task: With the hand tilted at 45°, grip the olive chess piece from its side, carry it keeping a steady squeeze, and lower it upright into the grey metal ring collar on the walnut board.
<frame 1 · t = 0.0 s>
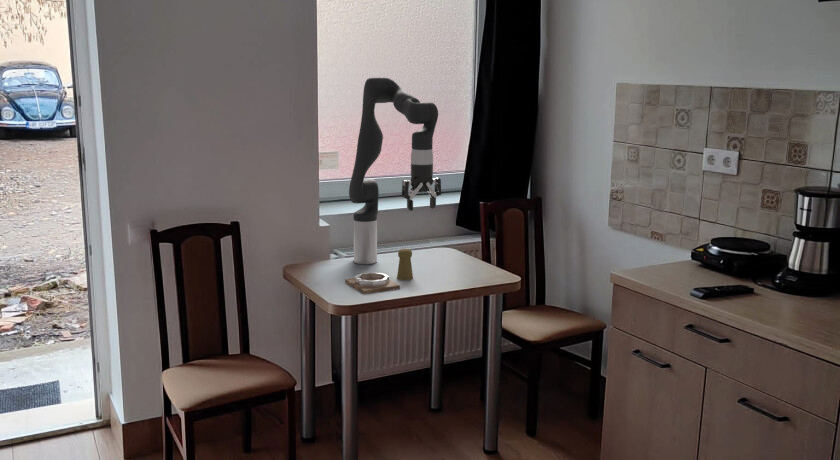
hand: (421, 209, 266), 29 cm above the table, tool pointing down, fingers open, 8 cm apart
olive chess piece: (405, 278, 288), on the table
walnut board: (372, 285, 278), on the table
metal collar: (372, 279, 278), on the walnut board, point 2 cm above the table
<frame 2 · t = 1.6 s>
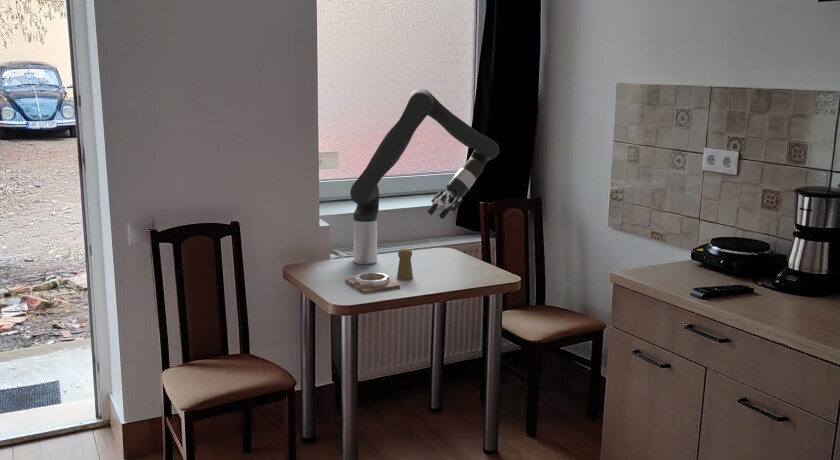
hand: (434, 215, 289), 23 cm above the table, tool tilted 45°, fingers open, 8 cm apart
nothing on the table moved.
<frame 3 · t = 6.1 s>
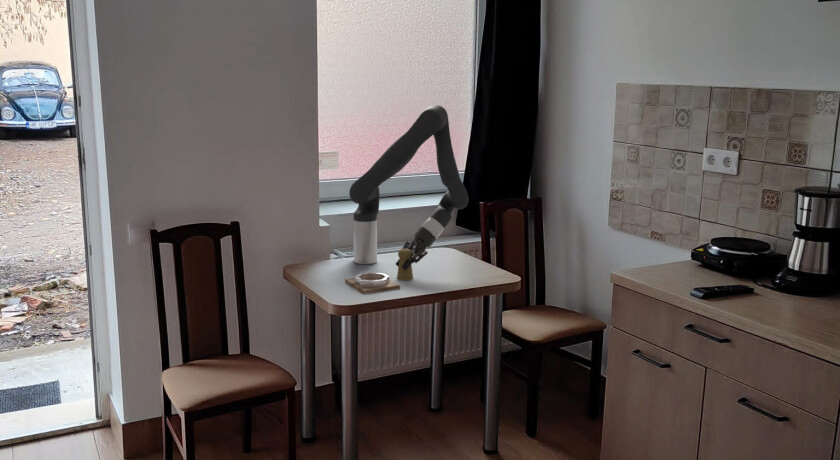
hand: (400, 267, 286), 4 cm above the table, tool tilted 45°, fingers closed on olive chess piece, 4 cm apart
olive chess piece: (405, 278, 288), on the table, touching gripper
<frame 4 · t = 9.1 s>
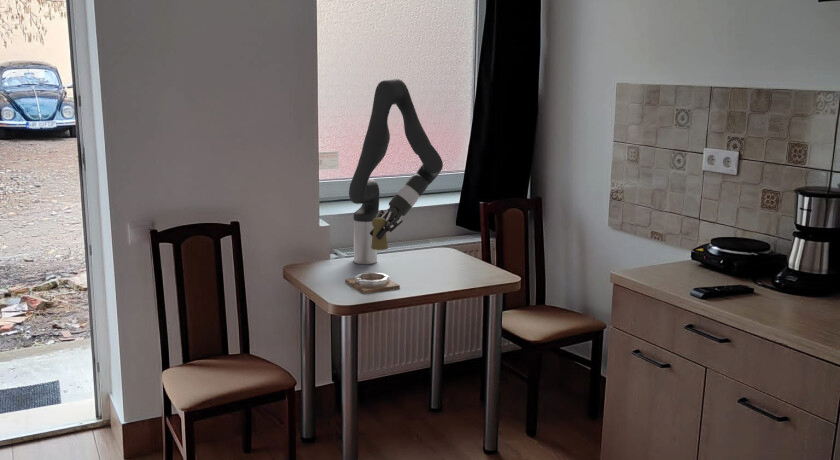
hand: (374, 236, 275), 18 cm above the table, tool tilted 45°, fingers closed on olive chess piece, 4 cm apart
olive chess piece: (379, 248, 277), point 13 cm above the table, touching gripper
when the fingers open (7 cm above the table, at t = 12.4 s): olive chess piece drops 1 cm, resting on walnut board.
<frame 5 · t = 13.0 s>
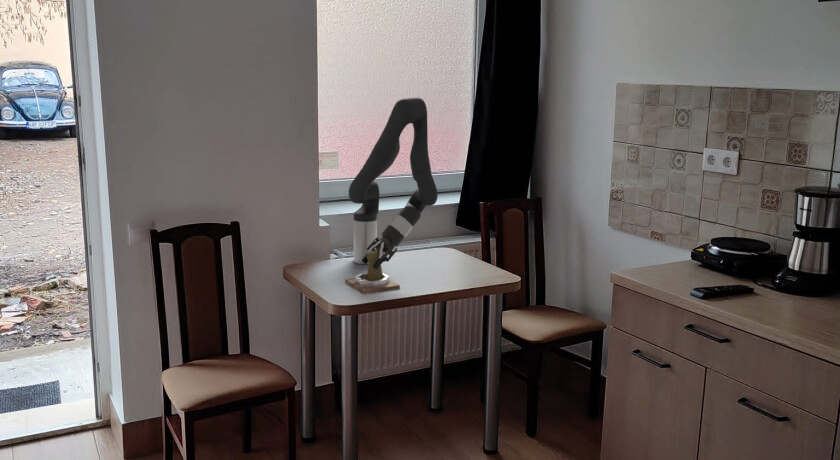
hand: (368, 265, 276), 8 cm above the table, tool tilted 45°, fingers open, 8 cm apart
olive chess piece: (375, 281, 279), point 1 cm above the table, touching walnut board
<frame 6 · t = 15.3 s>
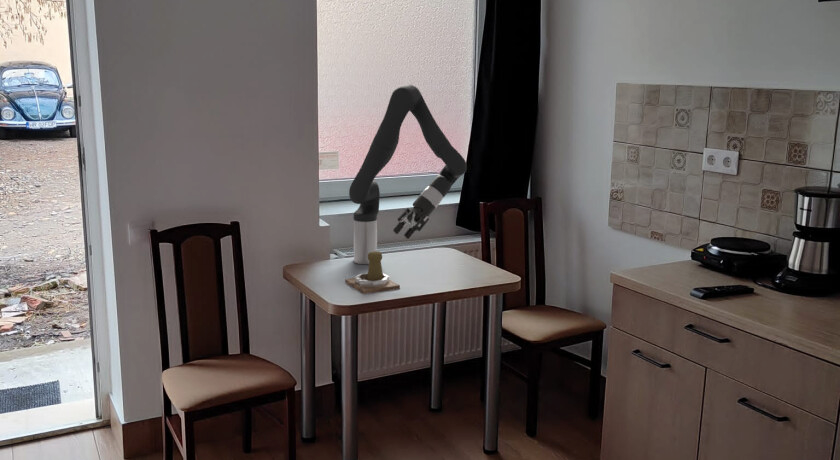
hand: (400, 234, 280), 17 cm above the table, tool tilted 45°, fingers open, 8 cm apart
nothing on the table moved.
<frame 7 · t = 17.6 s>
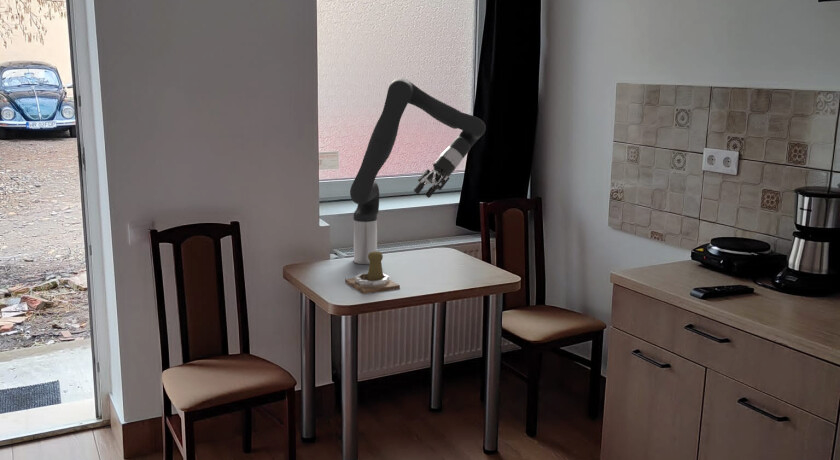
hand: (421, 194, 287), 31 cm above the table, tool tilted 45°, fingers open, 8 cm apart
nothing on the table moved.
at the end: olive chess piece 1.3 cm off-centre on the metal collar, point 1.0 cm above the metal collar's base; olive chess piece tilted 0°; the gripper is holding nothing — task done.
